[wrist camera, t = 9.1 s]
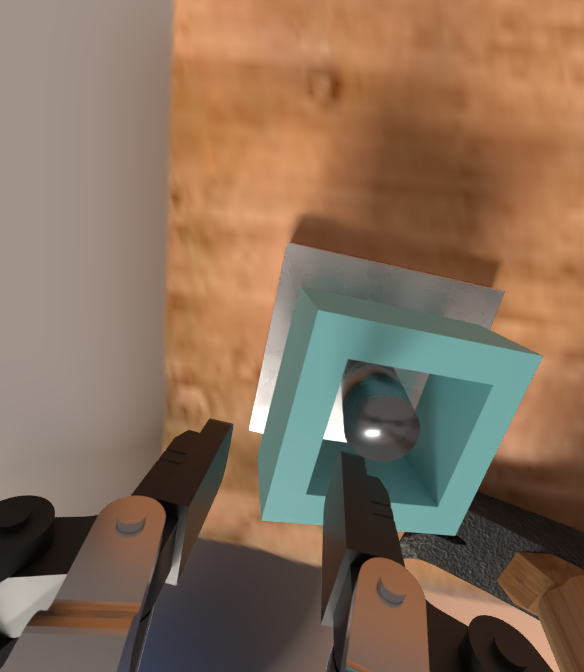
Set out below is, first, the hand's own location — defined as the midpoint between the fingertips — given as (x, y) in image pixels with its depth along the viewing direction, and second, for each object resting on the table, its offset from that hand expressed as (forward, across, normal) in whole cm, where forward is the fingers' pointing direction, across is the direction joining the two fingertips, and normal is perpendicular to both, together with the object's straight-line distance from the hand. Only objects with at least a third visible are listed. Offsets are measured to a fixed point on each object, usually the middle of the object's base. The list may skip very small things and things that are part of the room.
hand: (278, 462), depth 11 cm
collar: (+7, -3, 0) cm, 8 cm away
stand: (+12, -4, 0) cm, 13 cm away
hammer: (+12, -19, +10) cm, 25 cm away
